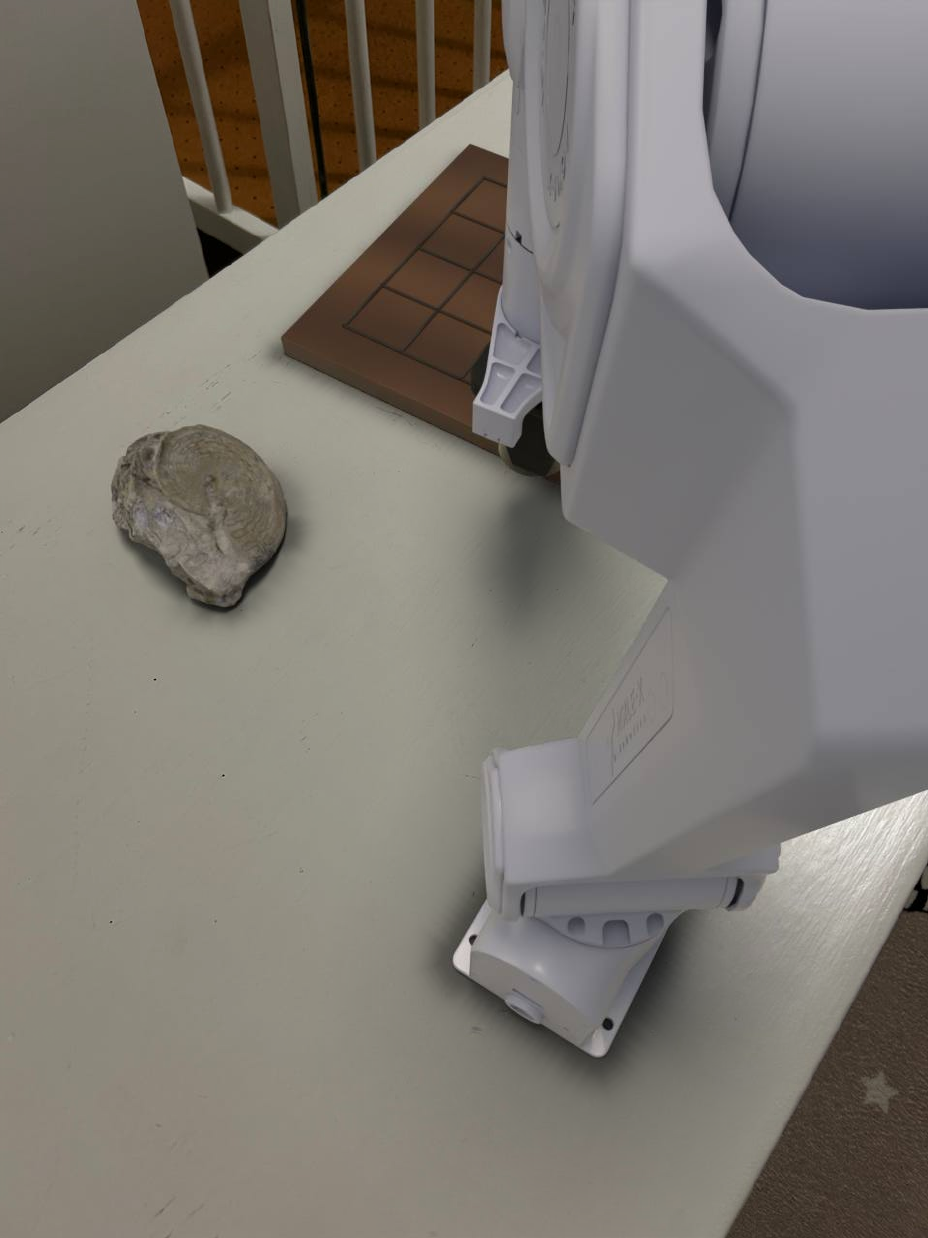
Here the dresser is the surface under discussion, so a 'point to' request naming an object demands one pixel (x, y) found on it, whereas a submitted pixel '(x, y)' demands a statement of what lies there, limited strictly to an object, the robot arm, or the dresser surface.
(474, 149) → the board
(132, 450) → the fossilized seashell
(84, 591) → the dresser surface
